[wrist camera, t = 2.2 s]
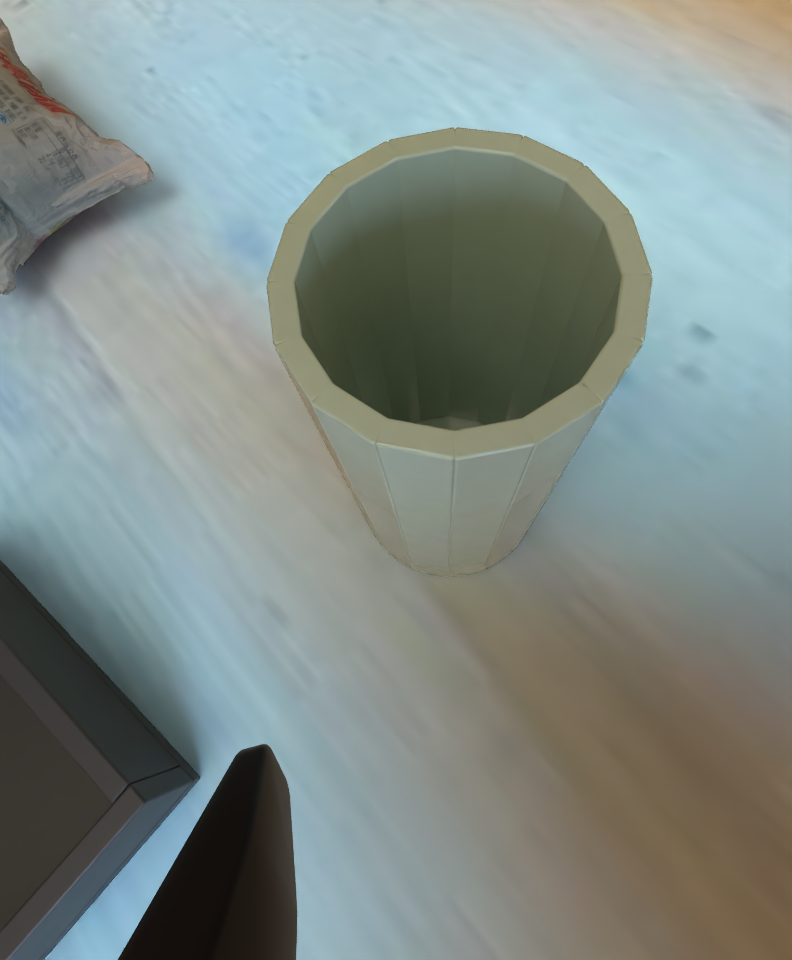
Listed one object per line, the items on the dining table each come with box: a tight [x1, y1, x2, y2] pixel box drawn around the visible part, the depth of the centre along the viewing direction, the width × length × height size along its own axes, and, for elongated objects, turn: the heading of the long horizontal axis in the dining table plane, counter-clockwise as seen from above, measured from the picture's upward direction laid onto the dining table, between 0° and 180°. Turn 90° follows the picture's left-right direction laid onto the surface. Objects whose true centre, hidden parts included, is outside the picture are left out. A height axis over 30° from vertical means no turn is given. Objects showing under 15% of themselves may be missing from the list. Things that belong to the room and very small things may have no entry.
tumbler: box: [267, 128, 652, 577], centre depth 16 cm, size 6×6×13 cm
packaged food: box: [0, 18, 154, 295], centre depth 26 cm, size 9×12×5 cm
